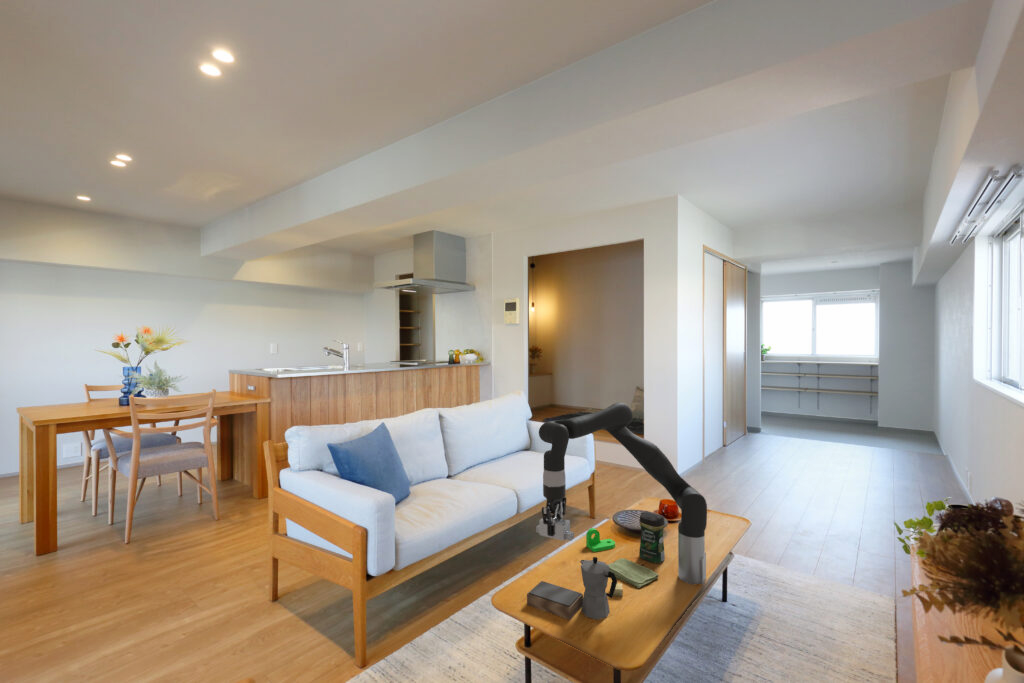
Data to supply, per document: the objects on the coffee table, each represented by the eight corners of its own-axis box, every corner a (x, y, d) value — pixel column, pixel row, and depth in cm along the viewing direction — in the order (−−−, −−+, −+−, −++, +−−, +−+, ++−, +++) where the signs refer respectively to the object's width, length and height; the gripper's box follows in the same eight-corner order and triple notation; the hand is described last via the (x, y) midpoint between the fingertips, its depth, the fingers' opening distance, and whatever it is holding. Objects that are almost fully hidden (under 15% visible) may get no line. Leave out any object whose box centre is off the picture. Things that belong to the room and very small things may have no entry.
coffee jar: (636, 558, 192) (636, 512, 192) (646, 552, 198) (645, 507, 197) (658, 566, 185) (658, 519, 185) (667, 559, 191) (667, 513, 191)
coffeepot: (570, 608, 156) (570, 554, 156) (589, 598, 162) (589, 546, 162) (607, 630, 145) (606, 572, 144) (626, 618, 150) (626, 562, 150)
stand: (583, 605, 158) (582, 592, 158) (570, 620, 149) (570, 607, 149) (541, 592, 167) (541, 579, 167) (526, 605, 158) (526, 592, 158)
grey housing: (541, 528, 164) (541, 514, 164) (575, 536, 157) (575, 521, 157) (534, 533, 159) (534, 519, 159) (569, 542, 152) (568, 527, 152)
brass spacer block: (622, 592, 167) (622, 583, 167) (622, 598, 163) (622, 589, 163) (610, 591, 167) (610, 582, 167) (611, 597, 163) (610, 588, 163)
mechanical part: (593, 553, 197) (593, 534, 197) (586, 547, 203) (586, 529, 203) (617, 548, 201) (617, 529, 201) (610, 543, 207) (610, 524, 207)
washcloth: (640, 591, 167) (640, 582, 167) (600, 573, 181) (600, 564, 181) (660, 579, 176) (660, 571, 176) (621, 562, 189) (621, 554, 189)
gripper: (554, 475, 166) (554, 523, 166) (533, 486, 154) (534, 537, 154) (573, 478, 162) (574, 527, 162) (554, 490, 150) (554, 543, 150)
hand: (554, 532), depth 158 cm, fingers closed on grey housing, 5 cm apart
